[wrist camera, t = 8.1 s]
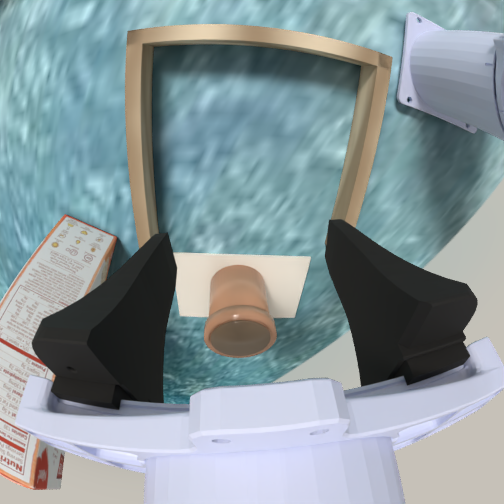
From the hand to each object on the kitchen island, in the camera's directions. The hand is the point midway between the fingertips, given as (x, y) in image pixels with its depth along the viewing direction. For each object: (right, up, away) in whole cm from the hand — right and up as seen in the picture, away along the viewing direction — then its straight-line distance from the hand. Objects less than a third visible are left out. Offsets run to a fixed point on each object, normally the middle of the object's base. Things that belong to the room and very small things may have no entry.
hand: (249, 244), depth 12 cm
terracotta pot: (-1, -3, +13) cm, 14 cm away
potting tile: (-1, -4, +14) cm, 14 cm away
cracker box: (-17, -3, +12) cm, 21 cm away
